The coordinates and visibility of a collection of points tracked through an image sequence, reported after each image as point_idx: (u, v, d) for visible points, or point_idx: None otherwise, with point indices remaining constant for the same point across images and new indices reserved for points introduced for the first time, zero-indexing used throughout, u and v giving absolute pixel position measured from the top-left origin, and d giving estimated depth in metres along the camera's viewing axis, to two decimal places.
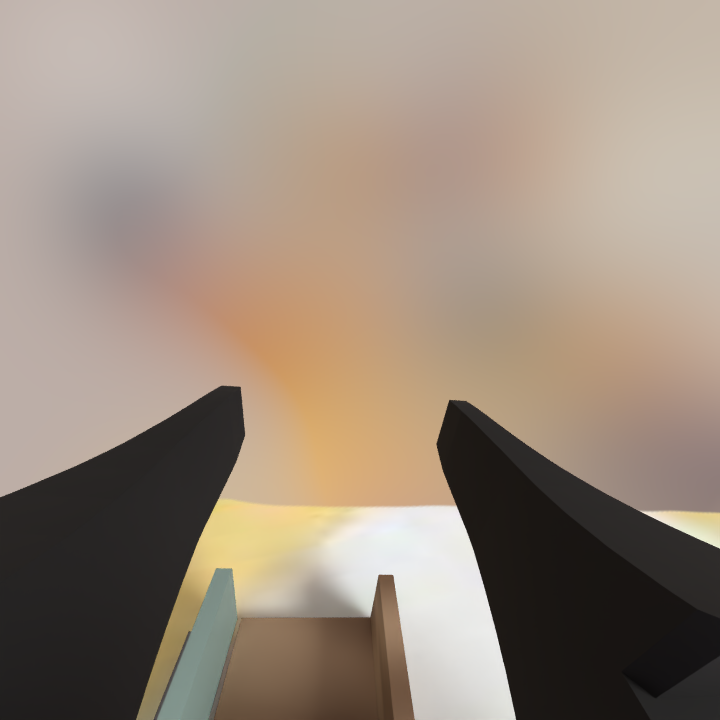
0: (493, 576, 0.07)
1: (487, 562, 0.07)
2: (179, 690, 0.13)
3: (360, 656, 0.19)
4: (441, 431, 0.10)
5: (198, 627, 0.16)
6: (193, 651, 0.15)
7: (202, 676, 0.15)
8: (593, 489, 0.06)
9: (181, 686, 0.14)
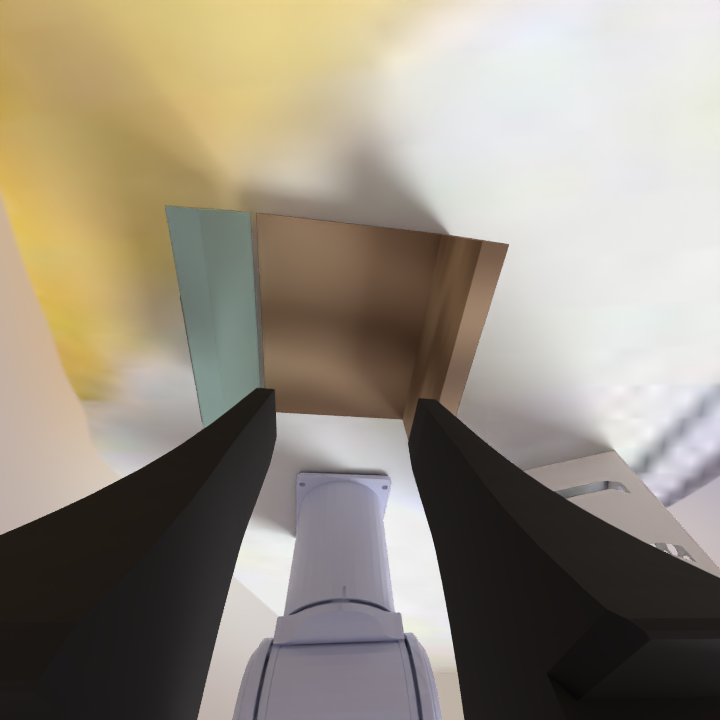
0: (449, 576, 0.07)
1: (445, 561, 0.07)
2: (205, 360, 0.11)
3: (417, 275, 0.16)
4: (411, 429, 0.10)
5: (189, 301, 0.10)
6: (199, 328, 0.11)
7: (227, 328, 0.12)
8: (544, 487, 0.06)
9: (205, 357, 0.11)
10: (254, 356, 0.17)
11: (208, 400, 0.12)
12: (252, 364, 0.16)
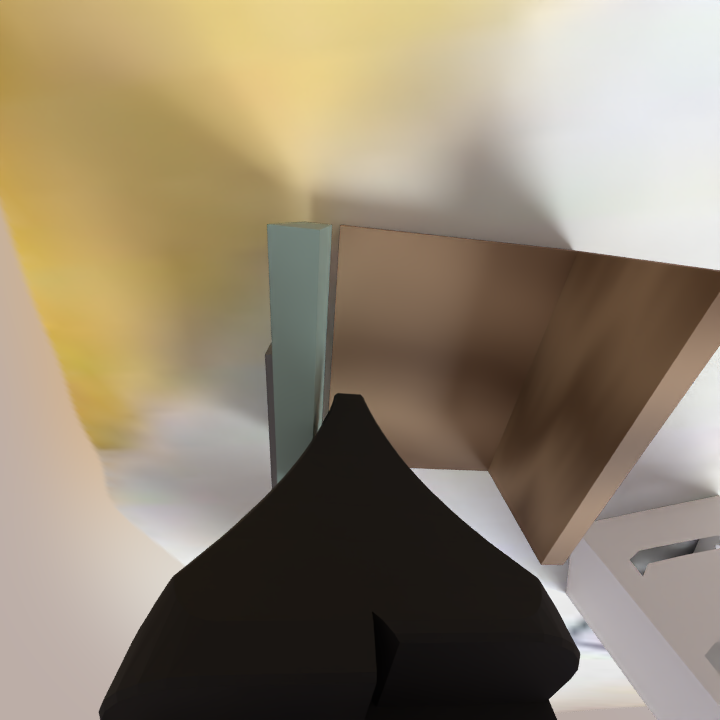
0: None
1: None
2: (294, 443, 0.08)
3: (536, 303, 0.12)
4: None
5: (284, 366, 0.07)
6: (293, 402, 0.07)
7: (317, 389, 0.09)
8: (422, 482, 0.06)
9: (295, 440, 0.08)
10: None
11: None
12: None
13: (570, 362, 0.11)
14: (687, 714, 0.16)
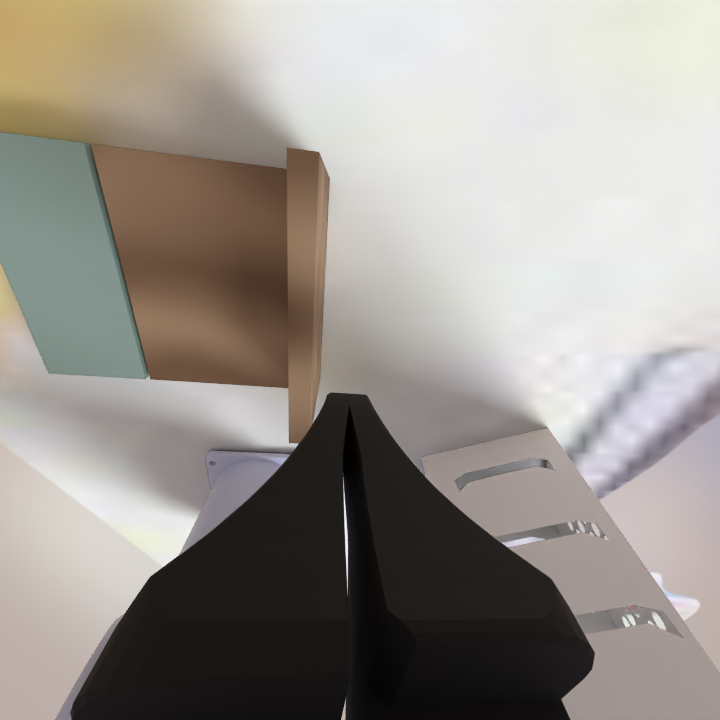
0: (350, 575, 0.07)
1: (350, 560, 0.07)
2: None
3: None
4: None
5: None
6: None
7: (21, 242, 0.14)
8: (430, 482, 0.06)
9: None
10: (111, 307, 0.16)
11: None
12: (104, 311, 0.16)
13: None
14: None
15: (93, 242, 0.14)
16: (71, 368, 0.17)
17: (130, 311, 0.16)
